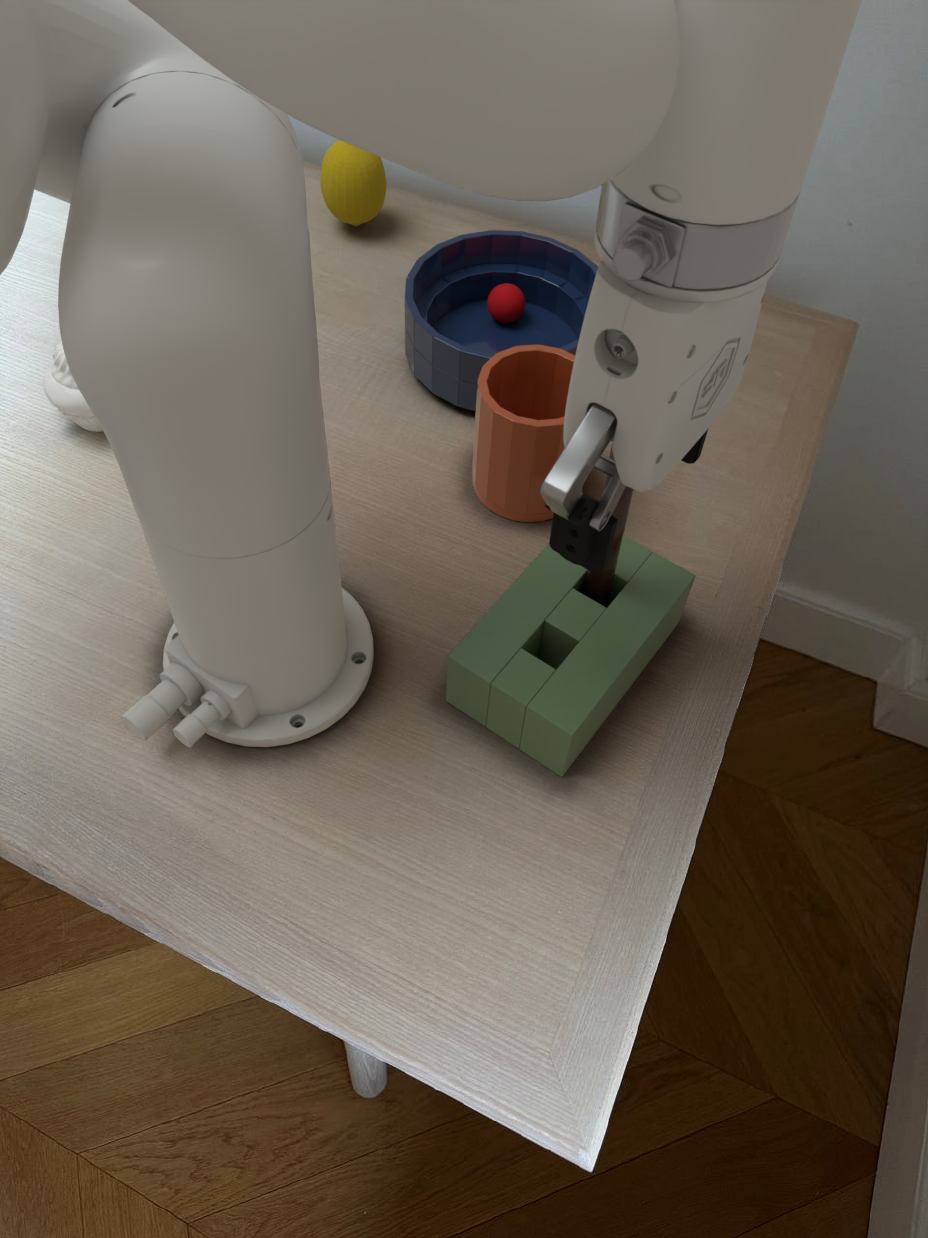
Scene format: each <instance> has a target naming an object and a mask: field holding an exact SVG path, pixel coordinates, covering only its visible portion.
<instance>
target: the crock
mask: <svg viewBox="0 0 928 1238" xmlns="http://www.w3.org/2000/svg"><path fill="white" fill-rule="evenodd" d="M574 360H575V355H573V354H571V353H569V352H567V351H565V350H563V349H560V348H555V347H549V346H544V345H523V346H514V347H512V348H509V349H506V350H504V351H501V352H498V353H497V354H495V355H494V356H493V357H492V358H491V359H490V360H488V361H487V362H486V363H485V364H484V365H483V366H482V369H481V372H480V375H479V378H478V381H477V397H476V411H475V416H474V431H473V432H474V433H473V447H472V449H473V450H472V464H471V472H472V481H471V482H472V487H473V490H474V493H475V495H476V496H477V499H478V500H479V501H480V502H481V503H482V504H483V506H484V507H486V508H487V509H488V510H490V511H491V512H493V513H494V514H496V515H498V516H500V517H502V518H505V519H507V520H510V521H511V520H512V521H516V522H521V523H522V522H523V523H538V522H544V521H547V520H552V519H553V513H554V512H552V511H550V510H548V509H547V508H545V501H544V499H543V497H542V496H541V494H540V490H541V486H542V484H543V482H544V480H545V479H546V477H547V476H548V474H549V472H550V471H551V469H552V468H553V466H554V465H555V463H556V461H557V460H558V458H559V457H560V455H561V454H562V452H563V450H564V449H565V447H564V440H563V431H564V418H565V410H566V402H567V396H568V390H569V385H570V379H571V374H572V369H573V364H574Z"/></svg>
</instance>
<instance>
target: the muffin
mask: <svg viewBox="0 0 928 1238" xmlns="http://www.w3.org/2000/svg"><path fill="white" fill-rule="evenodd" d="M53 350H54V352H53V353H52V358H53V359H52V361H51V363H50V364H49V365H48V367H47V369H46V371H45V372H44V375H43V379H42V388H43V393H44V395H45V396H46V398H47V400H48V401H49V402H50V404H51V405H53V406H54V407H55V408H56V409H57V411H58V412H60V413H61V414H62V415H63V416H65V417H66V418H68V419H69V420H71V421H72V422H73V423H75V424H77V425H78V426H79V427H81V428H82V429H84V430H86V431H90V432H92V433H93V432H95V433H101V432H104V431H103V430H102V428H101V426H100V424H99V422H98V421H97V419H96V417H95V416H94V414H93V412H92V411H91V409H90V407H89V406H88V404H87V403H86V401H85V399H84V397H83V396H82V394H81V392H80V391H79V389H78V387H77V385H76V383H75V381H74V379H73V376H72V374H71V371H70V369H69V366H68V363H67V360H66V357H65V353H64V349H63V345H62V340H61V339H60V340H59V343H58V344H56V345H55V346H54V349H53Z"/></svg>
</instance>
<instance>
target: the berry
mask: <svg viewBox="0 0 928 1238" xmlns="http://www.w3.org/2000/svg"><path fill="white" fill-rule="evenodd" d="M487 306H488V310H489V313H490V315H491V316H492V317H493V318H494V319H495V320H496V321H498V322H501V323H511V322H514V321H516V320H517V319H518V318H520V316H521V315H522V314H523V312H524V309H525V297H524V294H523V292H522V291H521V290H520V289H519V288H518V287H517V286H515V285H513V284H509V283H504V284H500V285H498V286H496V287H495V288H494V289H493V290H492V291H491V292H490V294H489V297H488V301H487Z"/></svg>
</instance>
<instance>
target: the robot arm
mask: <svg viewBox="0 0 928 1238" xmlns="http://www.w3.org/2000/svg"><path fill="white" fill-rule="evenodd" d="M862 1H863V0H0V276H1V275H2V274H3V273H4V271H5V270H6V269H7V268H8V266H9V264H10V263H11V260H12V259H13V257H14V254H15V252H16V250H17V247H18V246H19V242H20V241H21V238H22V236H23V233H24V230H25V227H26V223H27V221H28V217H29V213H30V209H31V205H32V202H33V196H34V192H35V191H36V192H39V193H42V194H44V195H47V196H50V197H52V198H55V199H57V200H59V201H62V202H65V203H67V204H69V210H68V215H67V220H66V226H65V231H64V232H65V233H64V238H63V244H62V250H61V257H60V265H59V275H58V287H57V289H58V290H57V291H58V295H57V308H58V326H59V335H60V340H62V345H63V349H64V353H65V357H66V360H67V363H68V366H69V369H70V371H71V374H72V376H73V379H74V381H75V383H76V385H77V387H78V389H79V391H80V392H81V394H82V396H83V397H84V399H85V401H86V403H87V404H88V406H89V407H90V409H91V411H92V412H93V414H94V416H95V417H96V419H97V421H98V422H99V424H100V426H101V428H102V430H103V431H102V432H103V433H104V435H105V437H106V439H107V441H108V443H109V446H110V447H111V450H112V452H113V454H114V457H115V460H116V462H117V464H118V467H119V469H120V472H121V475H122V477H123V480H124V481H123V482H124V483H125V486H126V488H127V492H128V495H129V497H130V500H131V503H132V507H133V510H134V511H135V515H136V516H137V519H138V521H139V523H140V527H141V529H142V533H143V535H144V538H145V541H146V545H147V546H148V550H149V552H150V553H149V554H150V555H151V558H152V561H153V564H154V567H155V570H156V573H157V576H158V579H159V581H160V584H161V587H162V591H163V593H164V596H165V599H166V601H167V606H168V608H169V611H170V614H171V617H172V620H173V623H172V625H171V627H170V629H169V631H168V632H167V637H166V641H165V643H164V648H163V655H162V656H163V657H162V669H163V671H162V672H161V673H159V680H160V683H158V684H157V685H156V686H155V687H154V688H153V689H152V690H151V691H149V692H148V693H147V694H144V695H143V696H142V697H141V698H140V699H139V700H138V701H137V702H136V703H134V704H133V705H132V706H131V707H130V708H129V709H128V710H126V711H125V713H123V714H122V715H121V716H120V720H121V722H122V723H123V725H124V726H125V727H126V729H127V730H129V731H130V733H131V734H132V735H134V736H135V737H136V738H137V739H139V740H141V741H142V742H147V741H148V740H149V739H150V738H151V737H152V736H154V734H155V733H157V731H159V730H160V729H161V728H162V727H163V726H164V725H165V724H166V723H167V722H168V721H170V717H172V716H173V714H174V713H175V712H177V710H179V712H180V713H181V714H182V715H183V716H184V718H183V719H182V720H180V722H179V723H178V724H177V725H176V726H175V727H173V728H172V733H173V735H174V737H176V738H177V740H178V741H179V742H180V743H182V744H183V745H184V746H185V747H188V748H192V747H193V746H194V745H195V744H196V742H198V741H199V739H201V738H202V737H203V736H204V735H205V734H206V735H208V736H210V737H212V738H215V739H217V740H220V741H222V742H224V743H227V744H228V743H229V744H233V745H237V746H242V747H248V748H249V747H250V748H251V747H252V748H253V747H254V748H271V747H278V746H286V745H291V744H294V743H297V742H300V741H304V740H307V739H310V738H311V737H313V736H315V735H317V734H319V733H321V732H323V731H326V730H327V729H329V728H330V727H331V726H332V725H334V724H335V723H337V722H338V721H340V720H341V719H342V718H343V717H345V715H346V714H347V713H348V712H350V710H351V709H352V708H353V707H354V706H355V705H356V704H357V702H358V701H359V699H360V697H361V696H362V694H363V692H364V691H365V690H366V687H367V685H368V682H369V679H370V677H371V674H372V671H373V665H374V656H375V653H374V637H373V634H372V629H371V623H370V622H369V620H368V619H369V618H368V617H367V615H366V613H365V610H364V609H363V608H362V607H361V605H360V604H359V602H358V601H357V600H356V598H355V597H354V596H353V595H352V594H351V593H350V592H348V591H347V590H346V589H345V588H344V587H343V586H342V577H341V569H340V559H339V558H340V557H339V548H338V539H337V529H336V521H335V520H336V519H335V509H334V501H333V491H332V481H331V471H330V462H329V453H328V443H327V435H326V433H327V432H326V426H325V424H326V423H325V416H324V406H323V399H322V389H321V380H320V360H319V358H320V357H319V343H318V333H317V332H318V329H317V318H316V308H315V307H316V305H315V295H314V294H315V293H314V283H313V282H314V281H313V270H312V266H313V265H312V255H311V254H312V251H311V250H312V249H311V237H310V234H311V233H310V229H309V223H308V207H307V192H306V191H307V190H306V176H305V169H304V168H305V167H304V162H303V156H302V155H303V154H302V150H301V146H300V143H299V142H300V141H299V139H298V136H297V132H296V130H295V127H294V124H293V123H292V121H291V118H293V119H295V120H297V121H299V122H300V123H303V124H305V125H307V126H309V127H310V128H313V129H315V130H318V131H320V132H321V133H324V134H326V135H328V136H329V137H332V138H335V139H337V140H342V141H344V142H346V143H349V144H351V145H354V146H356V147H358V148H360V149H362V150H365V151H367V152H370V153H372V154H374V155H377V156H379V157H381V159H384V160H387V161H389V162H391V163H394V164H396V165H399V166H401V167H404V168H405V169H408V170H411V171H413V172H416V173H417V174H421V175H423V176H426V177H428V178H431V179H433V180H436V181H439V182H441V183H444V184H447V185H450V186H453V187H455V188H459V189H461V190H465V191H469V192H471V193H473V194H478V195H481V196H484V197H485V196H486V197H490V198H498V199H503V200H508V201H509V200H510V201H515V202H551V201H557V200H564V199H569V198H574V197H576V196H578V195H582V194H584V193H587V192H590V191H593V190H595V189H598V188H600V195H599V201H598V202H599V203H598V208H597V215H596V221H595V226H594V227H595V228H594V237H593V242H594V247H595V251H596V253H597V255H598V257H599V260H600V263H599V264H598V270H597V273H596V276H595V280H594V283H593V287H592V290H591V294H590V298H589V301H588V305H587V309H586V313H585V317H584V321H583V325H582V329H581V333H580V337H579V341H578V346H577V350H576V355H575V360H574V364H573V369H572V374H571V379H570V385H569V390H568V396H567V402H566V410H565V418H564V431H563V440H564V447H565V449H564V450H563V452H562V454H561V455H560V457H559V458H558V460H557V461H556V463H555V465H554V466H553V468H552V469H551V471H550V472H549V474H548V476H547V477H546V479H545V480H544V482H543V484H542V486H541V490H540V494H541V496H542V497H543V499H544V501H545V508H547V509H548V510H550V511H552V512H554V513H553V518H552V519H551V520H552V521H551V528H550V535H549V542H548V544H549V545H550V547H551V548H552V549H553V550H554V551H555V552H557V553H559V554H560V555H561V556H562V557H563V558H564V559H566V560H568V561H569V562H571V563H573V564H576V565H580V566H582V567H584V568H585V569H587V570H589V571H591V572H592V573H594V574H596V575H601V574H602V573H603V572H604V570H605V569H606V568H607V566H608V561H609V557H610V552H611V548H612V544H613V539H614V535H615V530H616V526H617V521H618V519H616V518H615V517H614V516H613V515H612V513H613V511H614V509H615V507H616V505H617V503H618V501H619V499H620V497H621V495H622V493H623V491H624V489H625V487H626V486H628V487H630V488H632V489H633V491H635V492H638V493H644V492H648V491H650V490H652V489H654V488H656V487H658V486H659V485H660V484H661V483H662V482H663V481H664V480H665V479H666V478H667V477H668V476H669V474H670V473H671V472H672V471H673V470H674V469H675V468H676V467H677V466H678V464H679V463H680V462H681V461H682V462H684V463H685V464H689V465H691V464H692V465H693V464H695V463H697V461H698V460H699V459H700V457H701V456H702V452H703V449H704V445H705V442H706V438H707V435H708V431H709V429H710V427H711V426H712V425H713V423H714V422H715V421H716V420H717V419H718V417H719V416H720V415H721V414H722V412H724V410H725V408H727V407H728V405H729V403H730V402H731V401H732V399H733V398H734V396H735V395H736V393H737V391H738V389H739V387H740V385H741V382H742V379H743V376H744V373H745V369H746V366H747V362H748V359H749V355H750V351H751V347H752V343H753V340H754V337H755V333H756V328H757V326H758V321H759V317H760V313H761V310H762V305H763V302H764V297H765V294H766V290H767V284H768V280H770V278H772V276H773V275H774V273H775V271H776V270H777V267H778V264H779V260H780V257H781V254H782V251H783V248H784V245H785V242H786V238H787V235H788V232H789V230H790V226H791V223H792V220H793V217H794V215H795V210H796V207H797V204H798V201H799V198H800V196H801V192H802V188H803V185H804V182H805V178H806V176H807V173H808V170H809V166H810V163H811V160H812V158H813V154H814V151H815V147H816V144H817V142H818V138H819V135H820V132H821V128H822V125H823V122H824V119H825V116H826V113H827V110H828V107H829V105H830V102H831V101H830V100H831V98H832V95H833V91H834V88H835V85H836V82H837V79H838V76H839V72H840V69H841V66H842V63H843V61H844V57H845V54H846V51H847V48H848V44H849V41H850V38H851V36H852V32H853V29H854V26H855V24H856V23H855V22H856V20H857V16H858V14H859V10H860V7H861V4H862ZM289 116H290V117H291V118H290V117H289ZM610 442H612V444H613V445H611V446H612V451H613V455H614V459H615V460H613V459H611V458H609V456H608V455H605V454H604V452H605V450H606V449H607V447H608V445H609V444H610ZM593 469H596V470H599V472H602V473H604V474H605V475H606V474H608V475H609V476H611V478H610V480H609V482H608V484H607V486H606V488H605V490H604V492H603V491H602V493H603V494H602V493H601V496H600V499H596V498H594V497H593V496H591V495H589V494H587V493H585V492H584V491H583V487H584V484H585V482H586V480H587V479H588V477H589V475H590V474H591V472H592V470H593ZM298 726H299V727H298Z"/></svg>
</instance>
